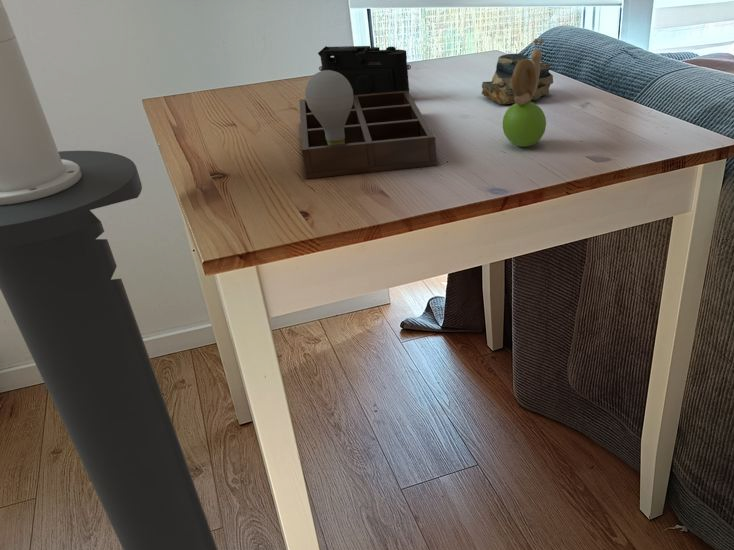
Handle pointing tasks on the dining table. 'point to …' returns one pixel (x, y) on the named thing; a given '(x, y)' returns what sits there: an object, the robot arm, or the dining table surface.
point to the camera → (368, 68)
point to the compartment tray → (369, 137)
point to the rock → (502, 80)
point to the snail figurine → (525, 103)
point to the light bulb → (330, 103)
